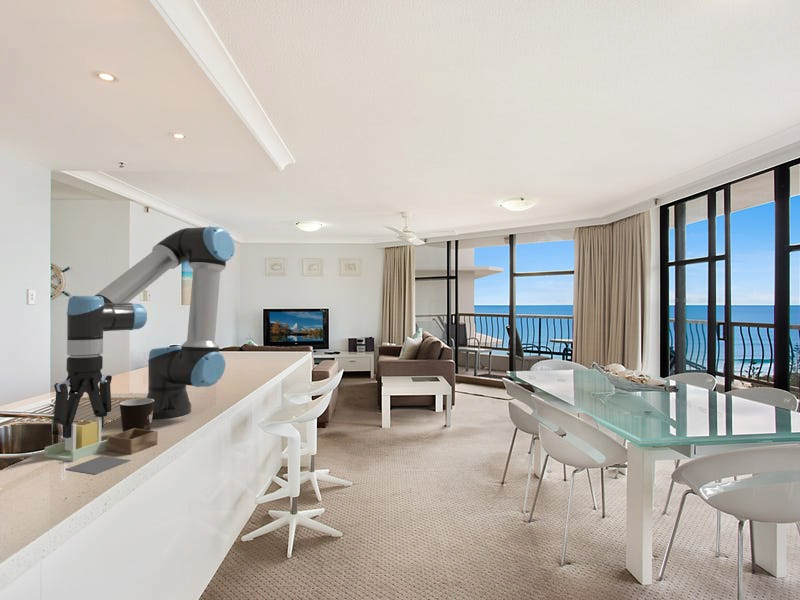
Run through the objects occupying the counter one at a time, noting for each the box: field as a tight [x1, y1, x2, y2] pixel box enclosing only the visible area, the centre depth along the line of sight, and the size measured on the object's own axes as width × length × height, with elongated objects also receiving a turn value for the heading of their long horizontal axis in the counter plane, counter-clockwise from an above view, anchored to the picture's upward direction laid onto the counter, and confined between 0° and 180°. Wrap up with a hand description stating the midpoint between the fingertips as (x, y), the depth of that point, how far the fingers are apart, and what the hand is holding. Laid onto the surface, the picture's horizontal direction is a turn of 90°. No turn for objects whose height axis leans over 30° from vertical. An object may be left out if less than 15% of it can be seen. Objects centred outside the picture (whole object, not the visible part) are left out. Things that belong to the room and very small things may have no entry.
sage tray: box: [44, 439, 107, 463], centre depth 112 cm, size 12×9×3 cm
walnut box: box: [106, 428, 158, 455], centre depth 116 cm, size 8×8×4 cm
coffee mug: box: [119, 398, 154, 432], centre depth 127 cm, size 12×9×10 cm
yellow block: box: [70, 420, 97, 453], centre depth 112 cm, size 4×4×7 cm
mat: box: [65, 455, 131, 476], centre depth 103 cm, size 9×9×1 cm
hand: (83, 445), depth 112 cm, fingers open, 6 cm apart
